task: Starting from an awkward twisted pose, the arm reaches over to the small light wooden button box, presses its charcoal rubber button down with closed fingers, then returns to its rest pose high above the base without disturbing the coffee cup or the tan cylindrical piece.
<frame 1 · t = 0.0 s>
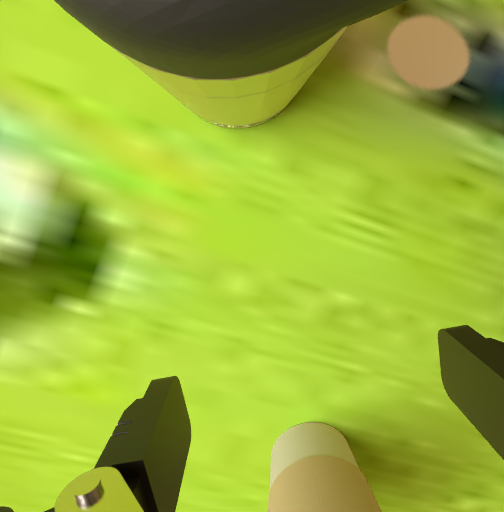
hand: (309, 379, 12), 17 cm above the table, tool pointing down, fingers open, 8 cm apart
coffee cup: (309, 454, 33), on the table
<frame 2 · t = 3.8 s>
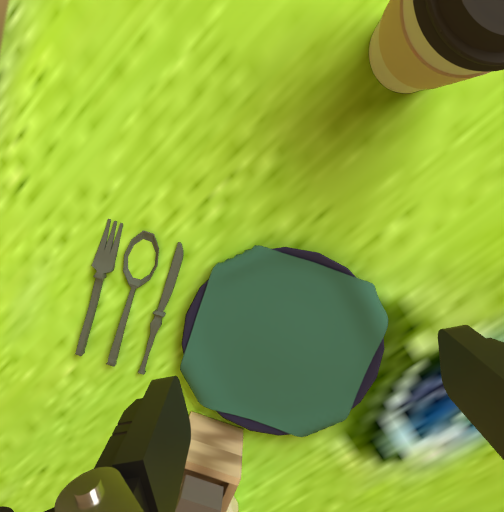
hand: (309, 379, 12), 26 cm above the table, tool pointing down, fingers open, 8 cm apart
coffee cup: (407, 51, 33), on the table
cutlery set: (234, 322, 39), on the table
button cap: (196, 507, 34), point 8 cm above the table, slide at 0.0 cm
button box: (208, 442, 42), on the table
tan cylindrical piece: (209, 505, 44), on the table
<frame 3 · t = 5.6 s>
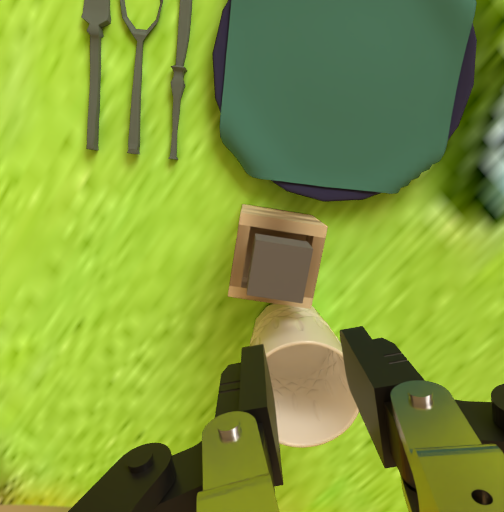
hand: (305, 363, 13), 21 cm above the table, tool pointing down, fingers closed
cutlery set: (275, 68, 31), on the table
button cap: (278, 267, 25), point 8 cm above the table, slide at 0.0 cm
button box: (271, 243, 33), on the table
tan cylindrical piece: (288, 332, 35), on the table
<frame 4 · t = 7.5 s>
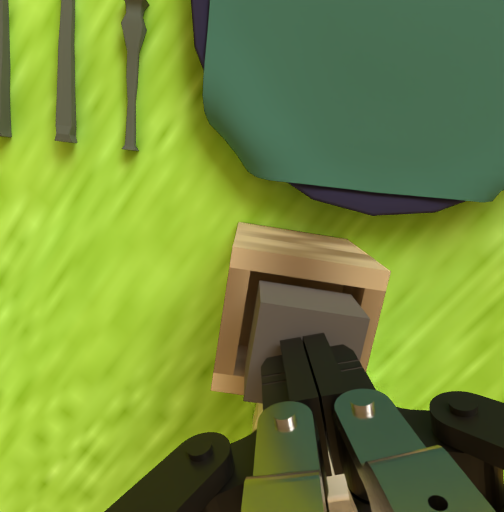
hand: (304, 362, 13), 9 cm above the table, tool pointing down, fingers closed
cutlery set: (292, 1, 19), on the table
button cap: (300, 344, 14), point 8 cm above the table, slide at 0.5 cm, touching gripper
button box: (283, 282, 22), on the table
tan cylindrical piece: (308, 411, 24), on the table
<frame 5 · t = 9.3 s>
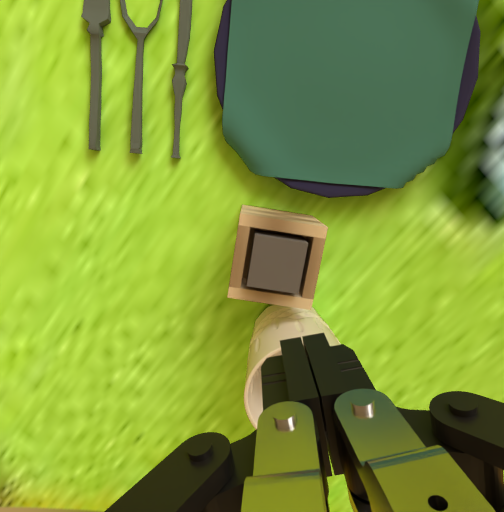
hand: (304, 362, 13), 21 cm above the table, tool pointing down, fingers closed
cutlery set: (277, 64, 31), on the table
button cap: (275, 260, 27), point 6 cm above the table, slide at 2.2 cm
button box: (271, 244, 33), on the table
tan cylindrical piece: (288, 333, 35), on the table
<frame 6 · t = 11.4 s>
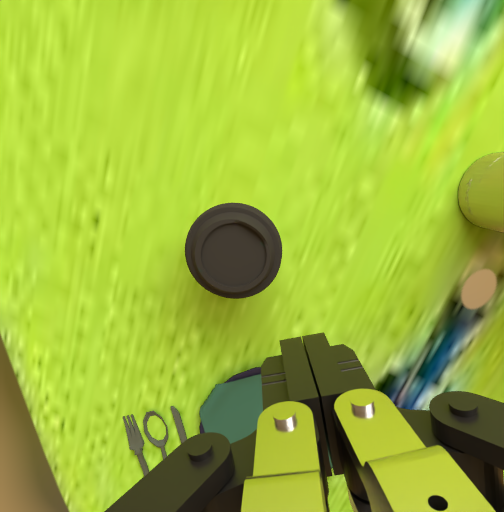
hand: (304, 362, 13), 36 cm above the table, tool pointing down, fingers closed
coffee cup: (237, 231, 48), on the table
cutlery set: (236, 430, 55), on the table
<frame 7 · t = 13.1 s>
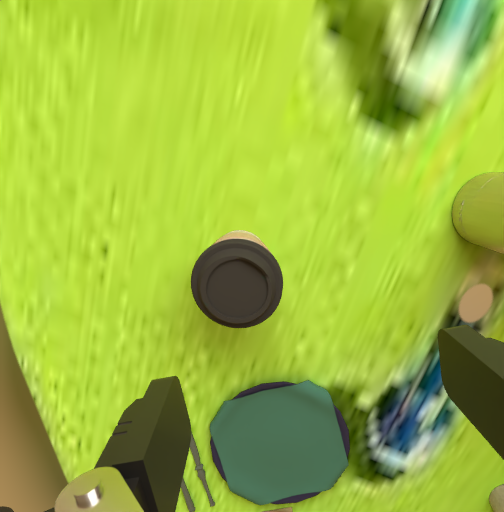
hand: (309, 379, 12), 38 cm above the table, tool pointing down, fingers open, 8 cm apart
coffee cup: (240, 255, 50), on the table
cutlery set: (245, 443, 57), on the table
house plant: (496, 500, 59), on the table
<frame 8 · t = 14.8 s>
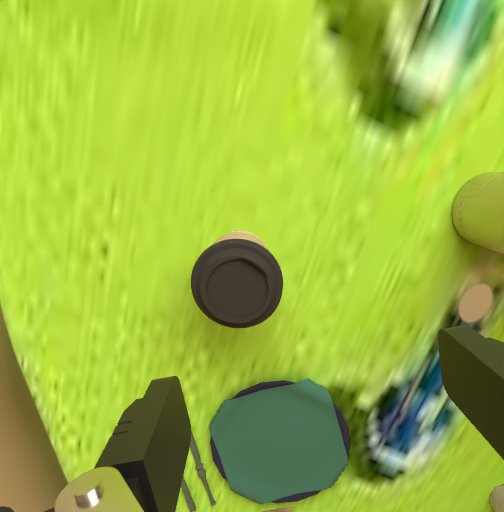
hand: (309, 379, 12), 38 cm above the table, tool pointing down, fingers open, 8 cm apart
coffee cup: (240, 255, 50), on the table
cutlery set: (246, 442, 57), on the table
house plant: (496, 500, 59), on the table
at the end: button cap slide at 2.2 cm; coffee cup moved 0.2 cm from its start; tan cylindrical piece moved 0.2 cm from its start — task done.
